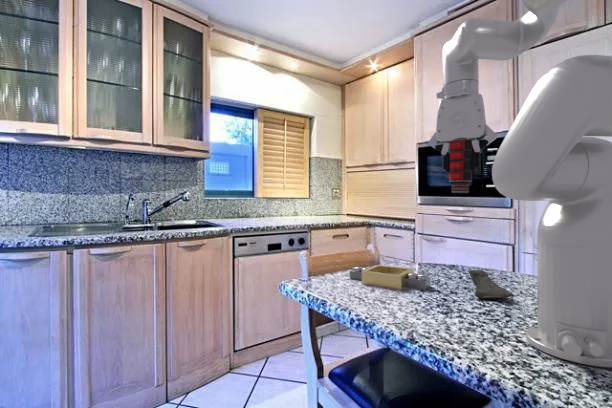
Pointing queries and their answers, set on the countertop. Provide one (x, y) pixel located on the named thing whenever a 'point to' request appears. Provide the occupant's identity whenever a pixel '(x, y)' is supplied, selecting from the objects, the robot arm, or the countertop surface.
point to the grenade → (460, 164)
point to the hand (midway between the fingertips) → (461, 170)
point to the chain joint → (391, 277)
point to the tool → (487, 286)
